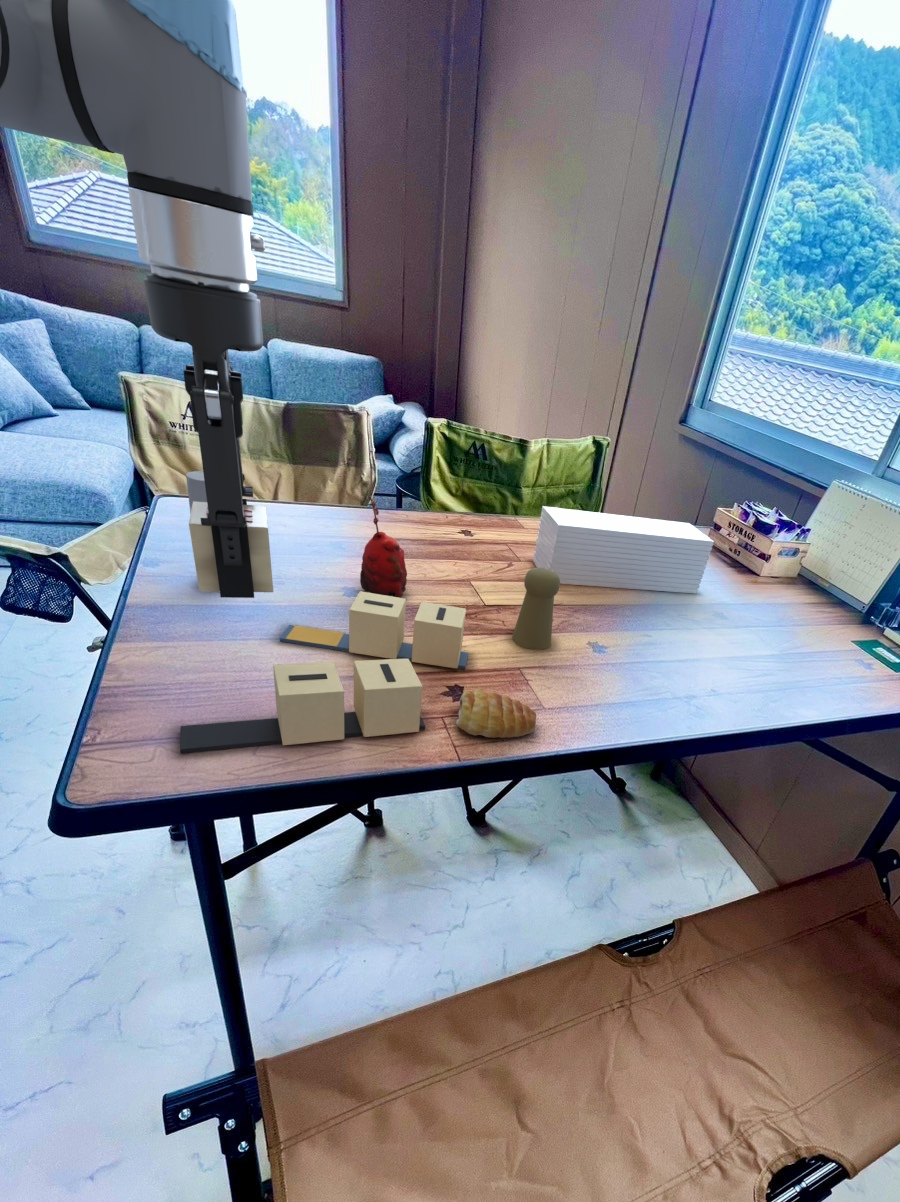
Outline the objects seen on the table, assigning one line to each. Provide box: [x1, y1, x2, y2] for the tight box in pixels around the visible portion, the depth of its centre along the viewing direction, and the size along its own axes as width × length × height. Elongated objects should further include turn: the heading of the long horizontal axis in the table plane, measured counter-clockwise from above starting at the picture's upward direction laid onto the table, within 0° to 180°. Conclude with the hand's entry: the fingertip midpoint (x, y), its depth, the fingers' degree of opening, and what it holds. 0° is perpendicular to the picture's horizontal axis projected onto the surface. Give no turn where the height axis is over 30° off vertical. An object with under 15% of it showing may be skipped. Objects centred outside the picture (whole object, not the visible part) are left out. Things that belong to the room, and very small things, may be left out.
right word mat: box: [279, 590, 469, 670], centre depth 81 cm, size 24×6×7 cm, turn 91°
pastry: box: [455, 688, 537, 739], centre depth 73 cm, size 9×7×4 cm
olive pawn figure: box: [511, 567, 561, 651], centre depth 91 cm, size 6×6×11 cm
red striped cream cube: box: [188, 501, 274, 593], centre depth 56 cm, size 6×6×6 cm
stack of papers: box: [532, 505, 715, 594], centre depth 121 cm, size 32×11×11 cm, turn 106°
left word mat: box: [179, 658, 426, 754], centre depth 65 cm, size 24×6×7 cm, turn 114°
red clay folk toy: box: [359, 494, 408, 598], centre depth 94 cm, size 8×7×15 cm
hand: (237, 580), depth 58 cm, fingers closed on red striped cream cube, 6 cm apart
